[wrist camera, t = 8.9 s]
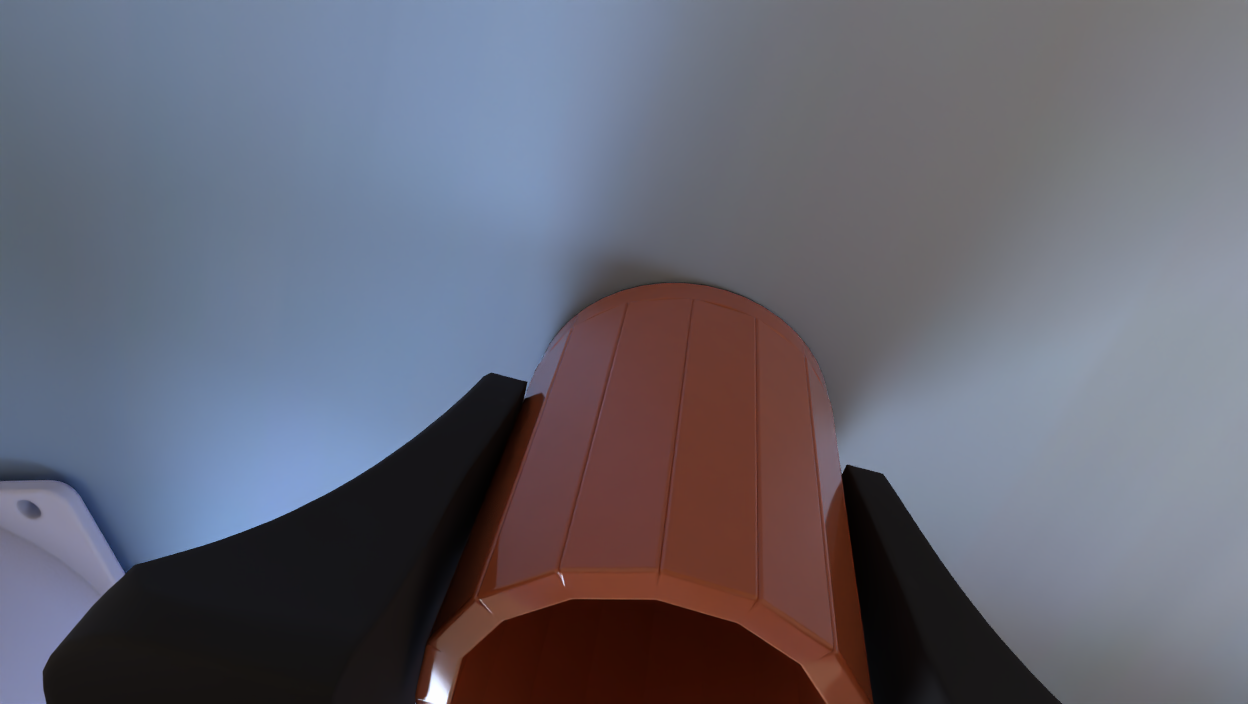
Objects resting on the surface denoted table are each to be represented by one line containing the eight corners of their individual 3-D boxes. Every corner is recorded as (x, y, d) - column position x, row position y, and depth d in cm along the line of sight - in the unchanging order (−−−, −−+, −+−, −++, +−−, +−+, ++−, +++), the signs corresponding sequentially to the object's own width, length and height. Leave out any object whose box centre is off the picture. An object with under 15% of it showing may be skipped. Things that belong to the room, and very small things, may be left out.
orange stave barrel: (560, 525, 17) (470, 850, 12) (509, 290, 15) (361, 570, 9) (829, 522, 16) (870, 874, 11) (828, 271, 14) (880, 570, 8)
